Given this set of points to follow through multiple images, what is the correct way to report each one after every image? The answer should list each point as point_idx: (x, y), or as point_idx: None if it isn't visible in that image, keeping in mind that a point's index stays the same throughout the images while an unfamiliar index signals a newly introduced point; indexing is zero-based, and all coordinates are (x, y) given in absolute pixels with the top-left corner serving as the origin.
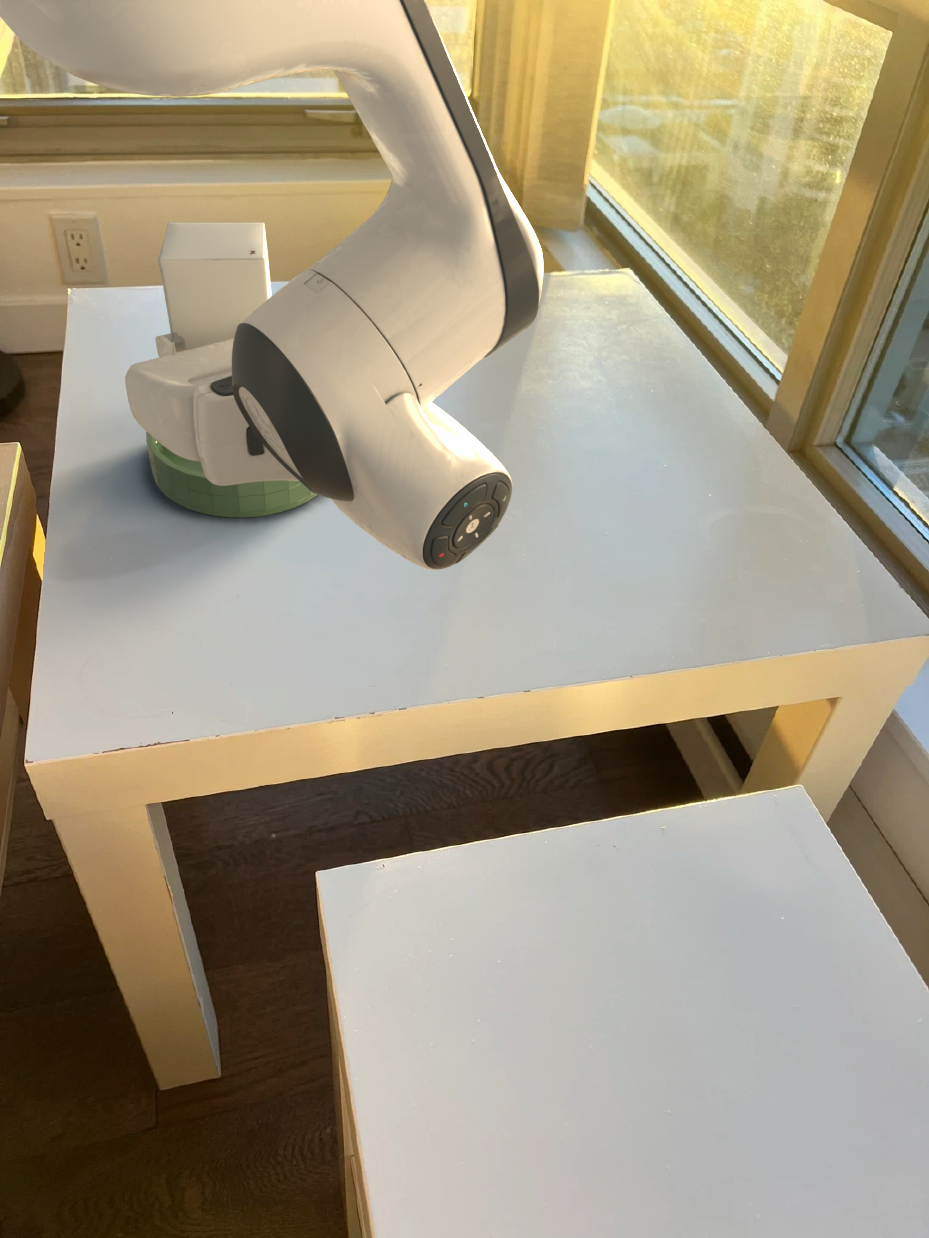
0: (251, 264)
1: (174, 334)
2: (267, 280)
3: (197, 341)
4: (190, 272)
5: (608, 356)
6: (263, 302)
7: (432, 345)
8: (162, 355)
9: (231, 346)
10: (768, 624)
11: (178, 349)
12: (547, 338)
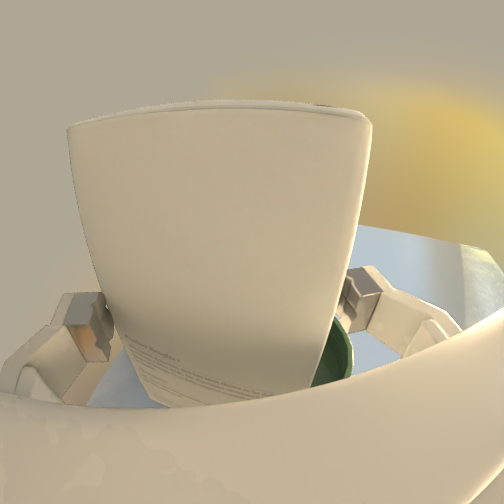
0: (311, 130)
1: (91, 299)
2: (359, 208)
3: (142, 321)
4: (113, 153)
5: (499, 303)
6: (325, 281)
7: None
8: (6, 361)
9: (110, 471)
10: None
11: (80, 338)
12: (470, 284)
